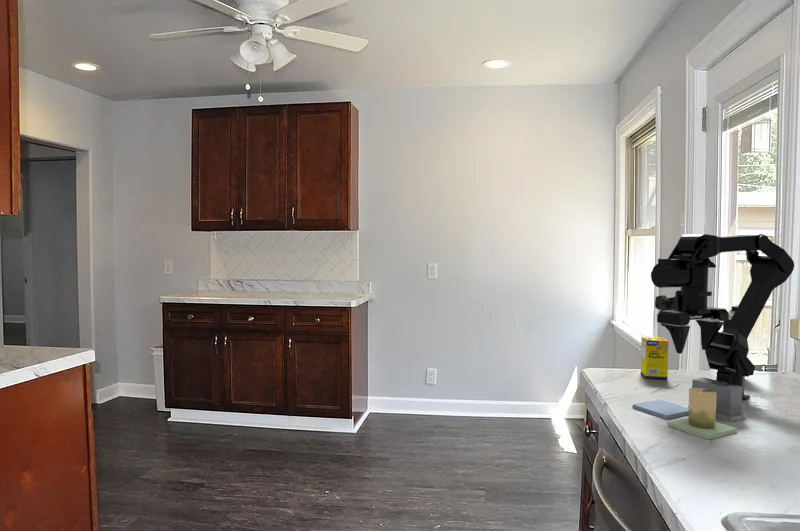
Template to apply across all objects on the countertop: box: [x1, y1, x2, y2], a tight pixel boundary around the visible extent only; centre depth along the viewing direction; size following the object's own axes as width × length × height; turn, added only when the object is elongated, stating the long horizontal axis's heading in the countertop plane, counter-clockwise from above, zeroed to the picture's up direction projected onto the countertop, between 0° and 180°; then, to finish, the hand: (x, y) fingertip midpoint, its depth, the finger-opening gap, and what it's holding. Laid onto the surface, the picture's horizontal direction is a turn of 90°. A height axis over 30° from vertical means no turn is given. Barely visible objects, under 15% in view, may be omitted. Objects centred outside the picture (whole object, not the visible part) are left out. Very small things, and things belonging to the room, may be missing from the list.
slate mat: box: [632, 398, 688, 420], centre depth 128 cm, size 9×9×1 cm
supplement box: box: [640, 336, 669, 381], centre depth 158 cm, size 6×6×11 cm
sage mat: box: [667, 417, 738, 440], centre depth 115 cm, size 9×9×1 cm
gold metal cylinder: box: [687, 387, 717, 429], centre depth 115 cm, size 5×5×7 cm
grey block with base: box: [687, 377, 746, 423], centre depth 125 cm, size 5×10×7 cm, turn 27°
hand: (692, 351), depth 134 cm, fingers open, 9 cm apart
